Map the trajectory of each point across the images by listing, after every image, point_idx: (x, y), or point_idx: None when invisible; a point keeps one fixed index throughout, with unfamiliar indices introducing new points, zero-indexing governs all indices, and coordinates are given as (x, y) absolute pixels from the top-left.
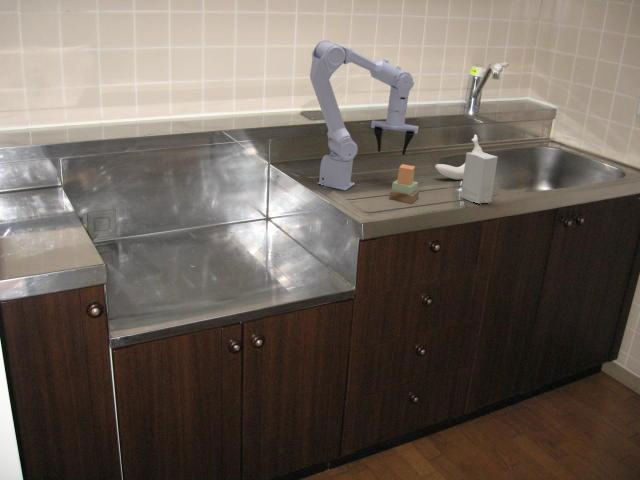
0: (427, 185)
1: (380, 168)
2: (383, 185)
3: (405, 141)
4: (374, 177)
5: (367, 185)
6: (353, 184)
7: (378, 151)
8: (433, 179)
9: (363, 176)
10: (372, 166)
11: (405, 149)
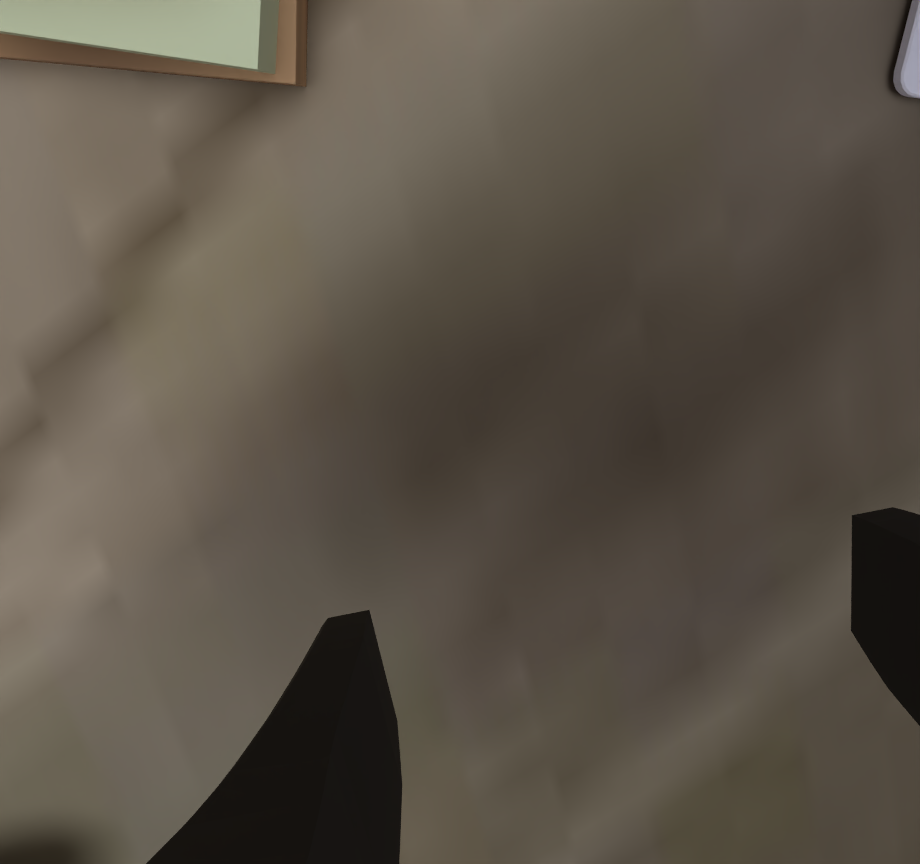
0: (84, 624)
1: (687, 830)
2: (540, 306)
3: (285, 832)
4: (696, 531)
5: (725, 177)
6: (910, 29)
7: (889, 511)
8: (110, 838)
9: (818, 489)
10: (771, 838)
11: (291, 685)
